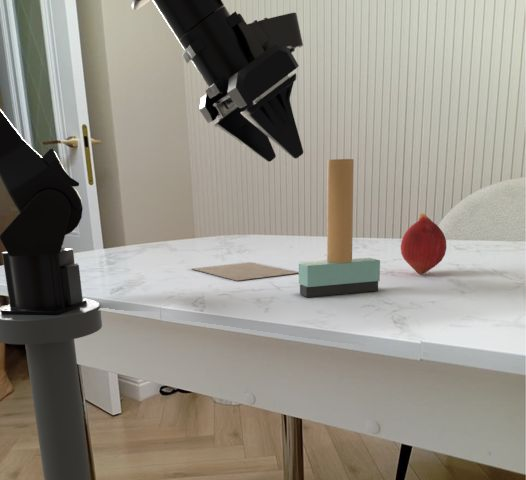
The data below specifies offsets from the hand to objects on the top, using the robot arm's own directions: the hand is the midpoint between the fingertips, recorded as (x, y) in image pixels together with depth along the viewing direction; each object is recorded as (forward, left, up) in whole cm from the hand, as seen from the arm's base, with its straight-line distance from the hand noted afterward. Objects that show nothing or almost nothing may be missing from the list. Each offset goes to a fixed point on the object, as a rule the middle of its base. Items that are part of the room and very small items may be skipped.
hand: (285, 157), depth 66 cm
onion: (+16, +13, -15) cm, 26 cm away
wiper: (+6, -1, -15) cm, 16 cm away
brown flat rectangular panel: (-9, +15, -15) cm, 23 cm away
